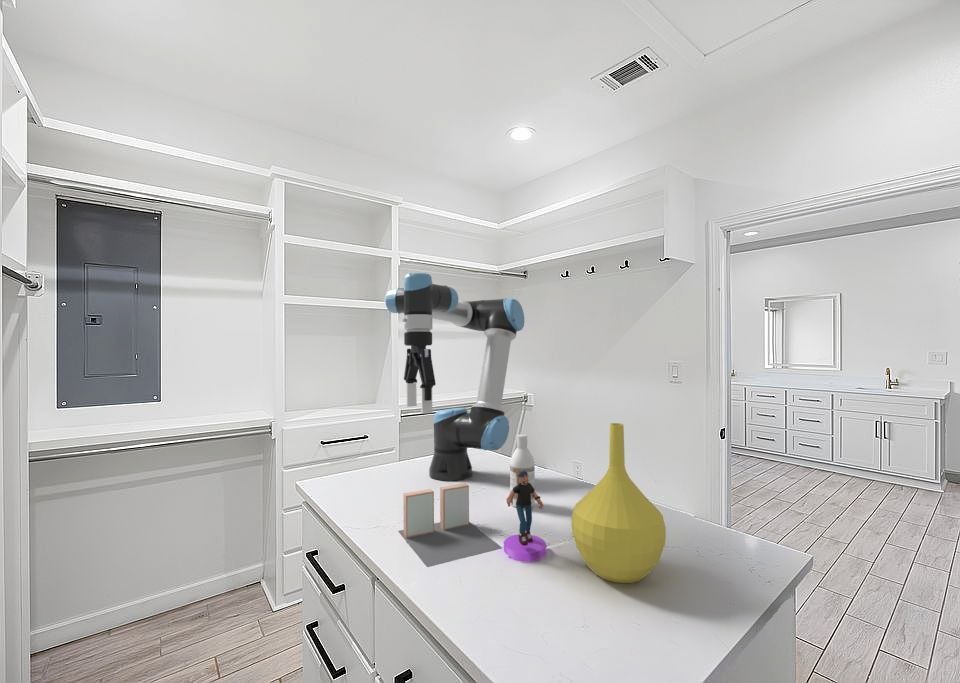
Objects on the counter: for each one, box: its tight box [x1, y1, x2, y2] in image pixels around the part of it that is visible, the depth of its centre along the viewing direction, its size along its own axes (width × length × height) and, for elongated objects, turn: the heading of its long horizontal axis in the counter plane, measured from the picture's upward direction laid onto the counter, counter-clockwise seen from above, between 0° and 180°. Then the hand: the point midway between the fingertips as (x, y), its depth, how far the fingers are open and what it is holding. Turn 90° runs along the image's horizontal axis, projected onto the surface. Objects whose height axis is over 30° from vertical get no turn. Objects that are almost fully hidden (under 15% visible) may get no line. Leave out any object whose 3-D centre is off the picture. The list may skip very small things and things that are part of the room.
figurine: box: [503, 471, 547, 563], centre depth 100 cm, size 9×9×18 cm
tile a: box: [439, 482, 470, 530], centre depth 113 cm, size 7×2×10 cm, turn 118°
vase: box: [571, 422, 667, 584], centre depth 91 cm, size 18×18×30 cm
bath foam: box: [509, 433, 536, 510], centre depth 128 cm, size 7×7×20 cm
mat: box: [397, 521, 503, 568], centre depth 105 cm, size 18×20×1 cm
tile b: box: [402, 488, 435, 538], centre depth 108 cm, size 7×2×10 cm, turn 118°
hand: (418, 409), depth 121 cm, fingers open, 13 cm apart
